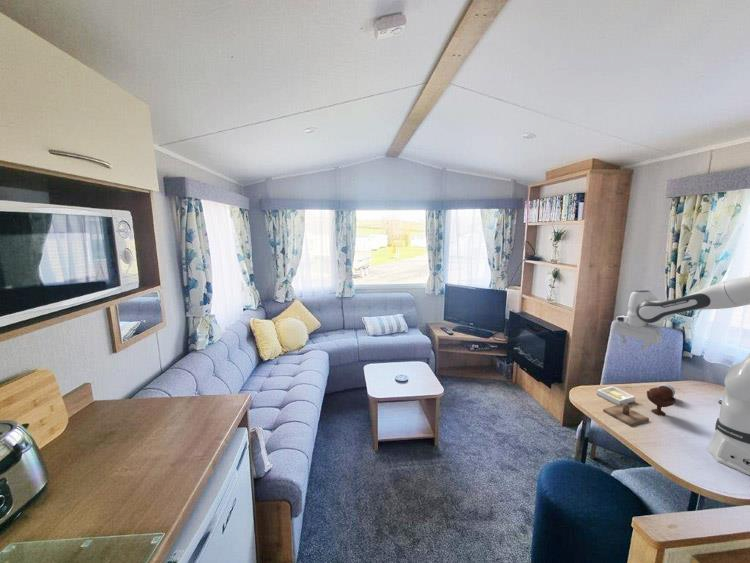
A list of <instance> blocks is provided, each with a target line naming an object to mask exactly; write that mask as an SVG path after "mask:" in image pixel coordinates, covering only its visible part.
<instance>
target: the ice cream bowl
mask: <svg viewBox="0 0 750 563" xmlns="http://www.w3.org/2000/svg"><path fill="white" fill-rule="evenodd" d="M658 386H659V385H658ZM658 386H657V387H658ZM657 387H656V386H655V387H652V388H650V389H649V390H650V391H649V390H647V391H646V397H647V399H648V401H650V402H651V403H652V404H654V405H655V406H656V408H652V409H651V413H652V414H654V415H657V416H660V417H665V416H666V412H665V411H663V410H662V408H668V407H671V406H673V405H674V404H675V403H676V401H677V400H676V397H675V396H674V397H673V391H672V390H671V389H670V388H669V387H667V386H659V387H658V388H657Z"/></svg>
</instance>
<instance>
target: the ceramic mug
mask: <svg viewBox="0 0 750 563" xmlns="http://www.w3.org/2000/svg"><path fill="white" fill-rule="evenodd" d="M659 386H667V387H669V388H670V389H671V390H672V391H673V397H674V398H675V394H676V390H675V388H674V387H673V386H671V385H670V384H668V383H660V384H659V385H658V386H657V388H658V387H659ZM648 391H650V389H648Z"/></svg>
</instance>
